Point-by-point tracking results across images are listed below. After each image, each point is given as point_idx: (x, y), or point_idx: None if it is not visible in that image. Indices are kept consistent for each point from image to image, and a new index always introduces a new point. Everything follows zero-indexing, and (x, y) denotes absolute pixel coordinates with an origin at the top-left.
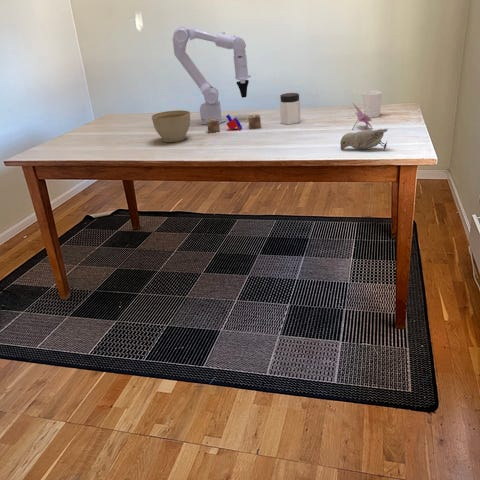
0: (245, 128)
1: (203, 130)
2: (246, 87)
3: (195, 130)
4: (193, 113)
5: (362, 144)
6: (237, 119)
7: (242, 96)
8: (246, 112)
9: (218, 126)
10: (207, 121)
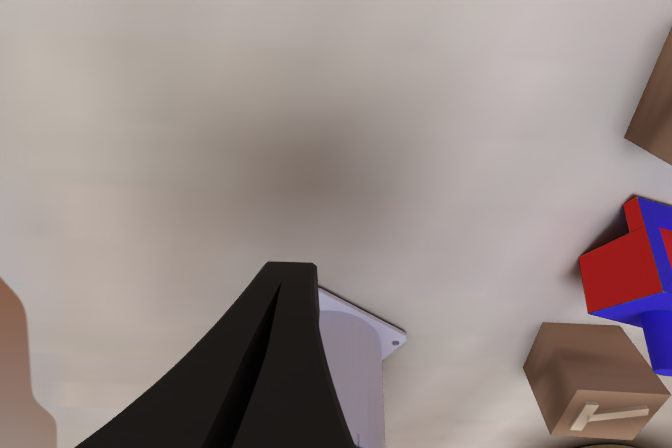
0: (661, 170)
1: (497, 385)
2: (345, 428)
3: (470, 409)
4: (62, 402)
5: None
6: (658, 268)
7: (318, 321)
8: (24, 129)
9: (642, 361)
10: (614, 437)
